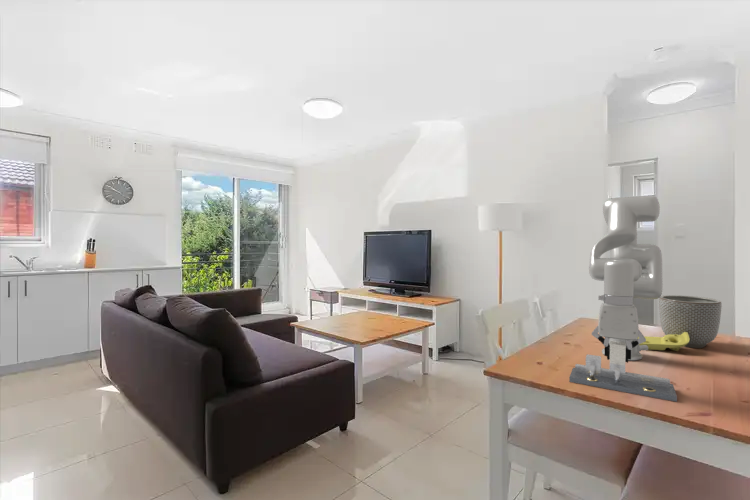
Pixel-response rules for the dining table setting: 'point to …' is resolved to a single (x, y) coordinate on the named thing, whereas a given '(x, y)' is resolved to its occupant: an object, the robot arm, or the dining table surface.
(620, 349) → the grey block with peg
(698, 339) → the planter
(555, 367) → the dining table surface
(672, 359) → the dining table surface
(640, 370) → the dining table surface
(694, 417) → the dining table surface
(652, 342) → the plastic component
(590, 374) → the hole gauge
